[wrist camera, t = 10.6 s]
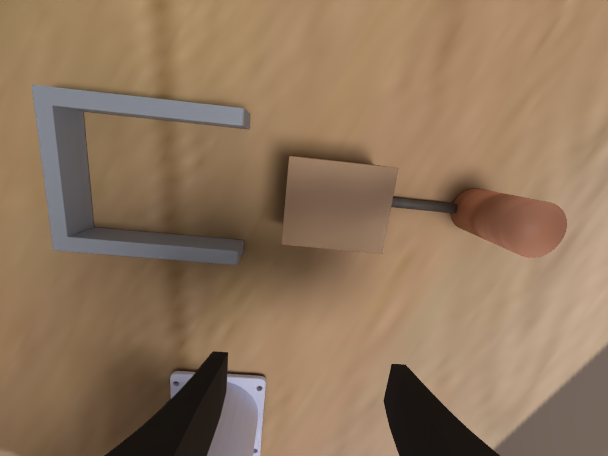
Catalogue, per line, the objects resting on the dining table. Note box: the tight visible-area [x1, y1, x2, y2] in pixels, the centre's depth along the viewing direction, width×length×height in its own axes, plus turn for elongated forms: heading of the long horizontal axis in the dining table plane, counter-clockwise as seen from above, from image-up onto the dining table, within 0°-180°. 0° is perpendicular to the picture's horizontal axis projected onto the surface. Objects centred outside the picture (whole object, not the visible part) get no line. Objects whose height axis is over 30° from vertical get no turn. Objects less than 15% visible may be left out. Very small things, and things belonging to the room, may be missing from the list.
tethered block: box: [281, 156, 567, 258], centre depth 18 cm, size 5×16×6 cm, turn 84°
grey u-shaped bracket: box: [32, 85, 250, 265], centre depth 19 cm, size 10×12×2 cm
